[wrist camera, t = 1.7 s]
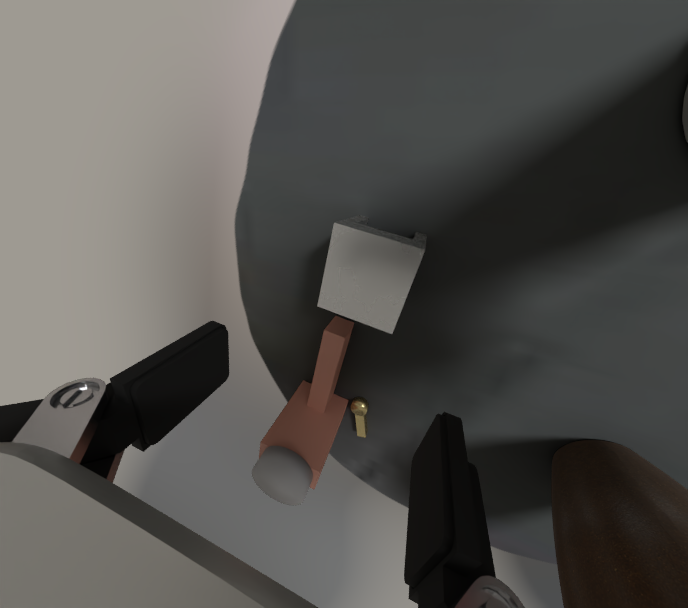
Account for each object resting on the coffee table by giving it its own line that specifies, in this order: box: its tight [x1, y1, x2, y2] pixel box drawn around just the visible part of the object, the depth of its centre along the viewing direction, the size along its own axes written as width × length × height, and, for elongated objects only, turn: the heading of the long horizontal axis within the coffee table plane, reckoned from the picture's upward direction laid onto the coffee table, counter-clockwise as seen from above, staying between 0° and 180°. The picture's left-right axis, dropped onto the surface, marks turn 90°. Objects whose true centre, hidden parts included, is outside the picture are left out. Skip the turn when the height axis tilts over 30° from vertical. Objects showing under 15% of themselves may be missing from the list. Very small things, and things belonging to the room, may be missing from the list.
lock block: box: [317, 215, 427, 334], centre depth 21 cm, size 7×7×7 cm
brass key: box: [351, 397, 369, 438], centre depth 33 cm, size 6×2×1 cm, turn 6°
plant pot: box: [551, 440, 688, 608], centre depth 19 cm, size 15×15×16 cm
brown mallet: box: [252, 316, 354, 506], centre depth 27 cm, size 17×7×12 cm, turn 166°
